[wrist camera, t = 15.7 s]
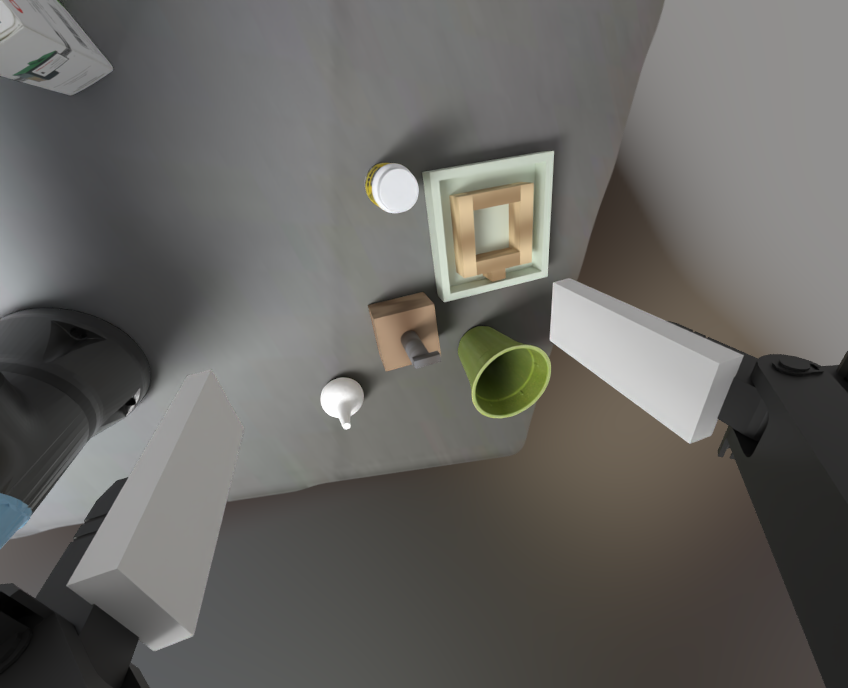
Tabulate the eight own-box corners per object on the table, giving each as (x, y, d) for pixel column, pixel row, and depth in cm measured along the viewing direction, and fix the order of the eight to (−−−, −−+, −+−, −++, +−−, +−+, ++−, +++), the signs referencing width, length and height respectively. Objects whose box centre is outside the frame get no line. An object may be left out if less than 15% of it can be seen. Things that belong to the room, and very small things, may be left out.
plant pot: (430, 364, 54) (455, 407, 45) (468, 300, 51) (505, 332, 41) (485, 384, 59) (518, 427, 50) (523, 327, 56) (567, 361, 47)
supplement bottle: (365, 159, 38) (378, 158, 31) (405, 166, 40) (426, 167, 33) (362, 204, 40) (373, 212, 33) (400, 209, 42) (419, 219, 35)
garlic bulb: (318, 376, 50) (313, 411, 43) (361, 371, 51) (363, 404, 44) (324, 410, 53) (321, 447, 46) (365, 404, 54) (367, 440, 47)
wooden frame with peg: (449, 195, 42) (458, 197, 40) (520, 181, 44) (533, 182, 42) (457, 281, 48) (465, 288, 45) (520, 266, 50) (531, 272, 47)
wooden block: (379, 354, 50) (396, 399, 41) (367, 305, 46) (383, 342, 37) (430, 340, 52) (457, 380, 42) (423, 291, 48) (451, 324, 38)
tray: (437, 295, 49) (444, 302, 46) (422, 171, 41) (429, 172, 38) (535, 270, 52) (547, 276, 49) (539, 151, 44) (554, 150, 41)
